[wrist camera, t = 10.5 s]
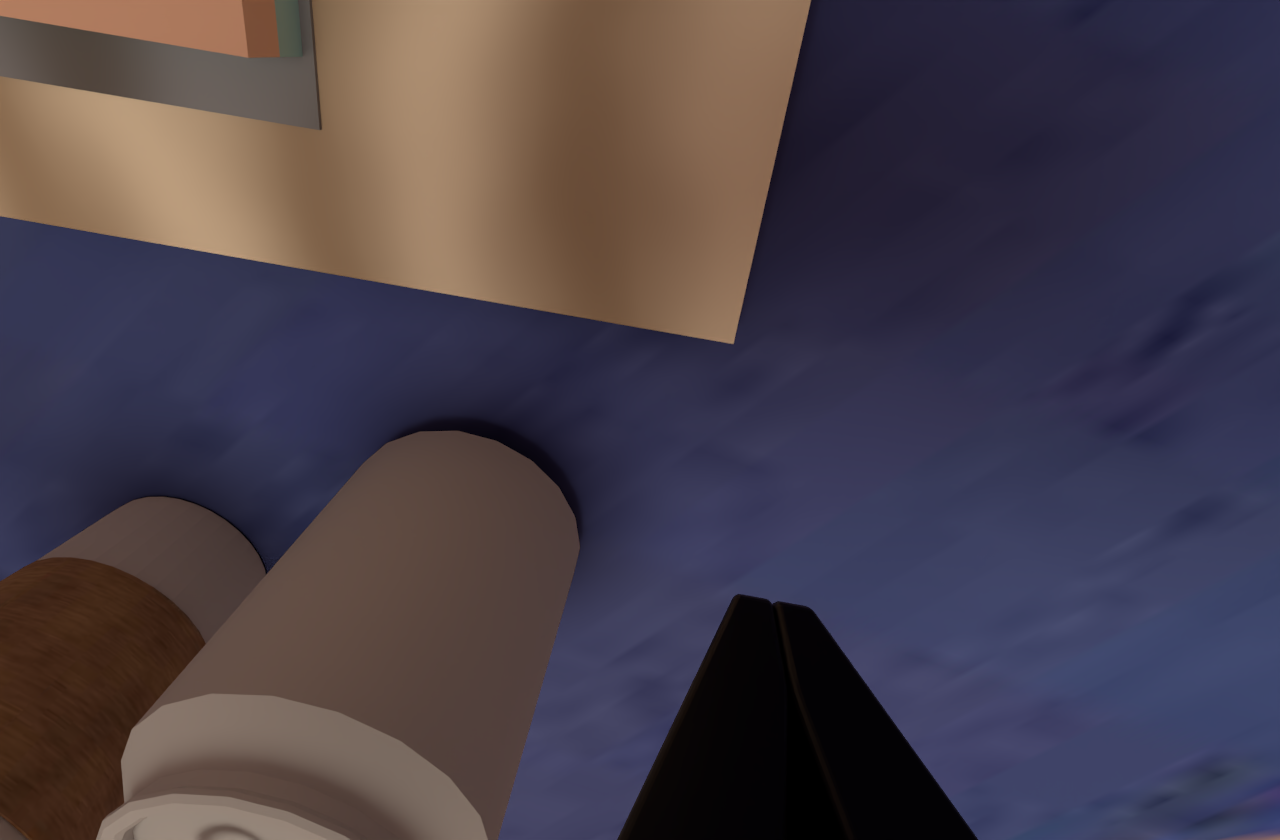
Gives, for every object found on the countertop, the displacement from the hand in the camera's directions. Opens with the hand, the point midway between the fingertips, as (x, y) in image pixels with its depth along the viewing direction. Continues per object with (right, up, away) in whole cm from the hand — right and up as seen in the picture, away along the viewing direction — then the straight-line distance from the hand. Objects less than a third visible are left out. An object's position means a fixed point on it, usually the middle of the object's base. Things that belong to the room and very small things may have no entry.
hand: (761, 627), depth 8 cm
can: (-7, -1, +15) cm, 17 cm away
